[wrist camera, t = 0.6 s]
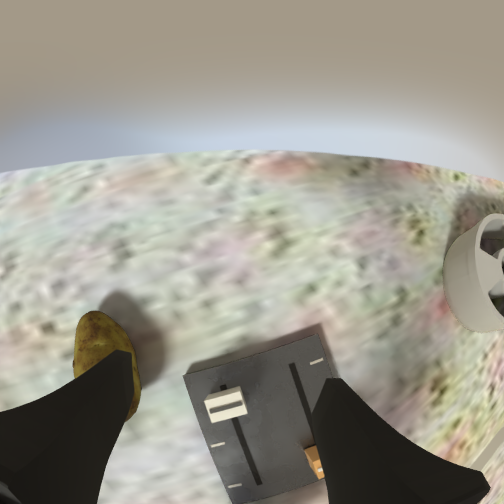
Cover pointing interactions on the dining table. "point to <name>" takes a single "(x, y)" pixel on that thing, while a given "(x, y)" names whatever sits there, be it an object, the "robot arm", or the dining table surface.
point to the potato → (102, 347)
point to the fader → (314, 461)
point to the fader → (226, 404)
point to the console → (264, 418)
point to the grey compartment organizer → (476, 277)
